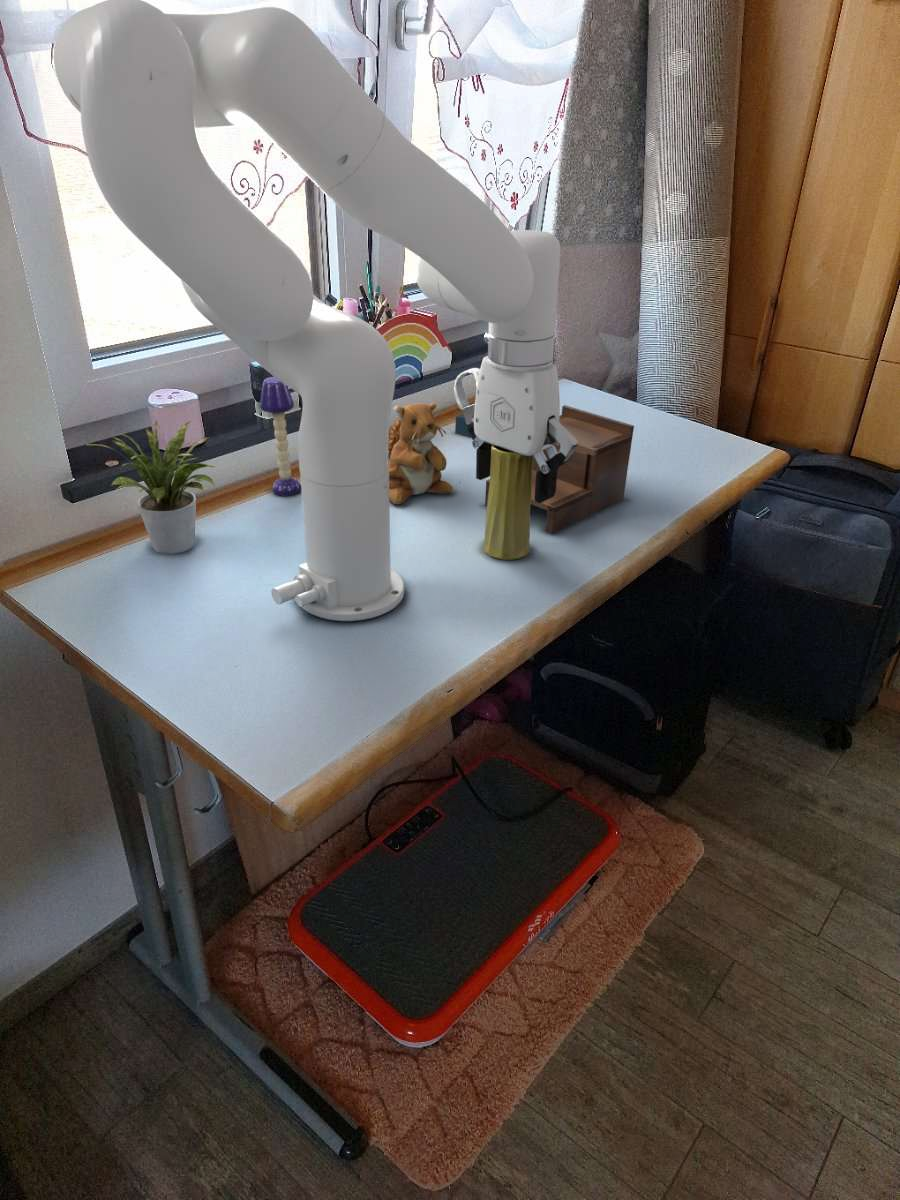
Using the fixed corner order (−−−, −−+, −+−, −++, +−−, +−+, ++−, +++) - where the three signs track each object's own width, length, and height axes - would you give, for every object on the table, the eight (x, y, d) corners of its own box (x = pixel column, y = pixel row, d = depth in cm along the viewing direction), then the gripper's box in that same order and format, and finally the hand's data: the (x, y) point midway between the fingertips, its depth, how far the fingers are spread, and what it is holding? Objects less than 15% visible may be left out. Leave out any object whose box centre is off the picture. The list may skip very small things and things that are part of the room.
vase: (499, 535, 109) (505, 433, 102) (538, 547, 106) (547, 444, 99) (473, 551, 105) (478, 446, 98) (513, 565, 102) (521, 458, 95)
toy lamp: (294, 498, 118) (284, 385, 109) (263, 495, 119) (252, 382, 110) (305, 486, 122) (297, 375, 113) (276, 482, 123) (265, 372, 114)
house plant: (120, 585, 96) (92, 454, 87) (95, 539, 106) (68, 417, 97) (238, 557, 102) (222, 433, 94) (203, 516, 112) (186, 400, 104)
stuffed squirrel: (395, 508, 116) (394, 419, 109) (363, 473, 127) (360, 390, 120) (458, 498, 119) (461, 411, 113) (422, 464, 130) (422, 383, 124)
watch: (485, 440, 141) (488, 377, 135) (446, 431, 144) (448, 369, 139) (501, 432, 145) (505, 370, 139) (463, 423, 148) (465, 362, 143)
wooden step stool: (551, 534, 110) (559, 454, 104) (484, 506, 117) (488, 430, 112) (623, 499, 120) (634, 425, 115) (557, 475, 128) (564, 405, 122)
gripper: (444, 342, 96) (444, 476, 105) (560, 372, 85) (549, 518, 94) (487, 330, 100) (484, 461, 109) (602, 358, 90) (588, 499, 99)
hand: (514, 487), depth 102 cm, fingers open, 9 cm apart
